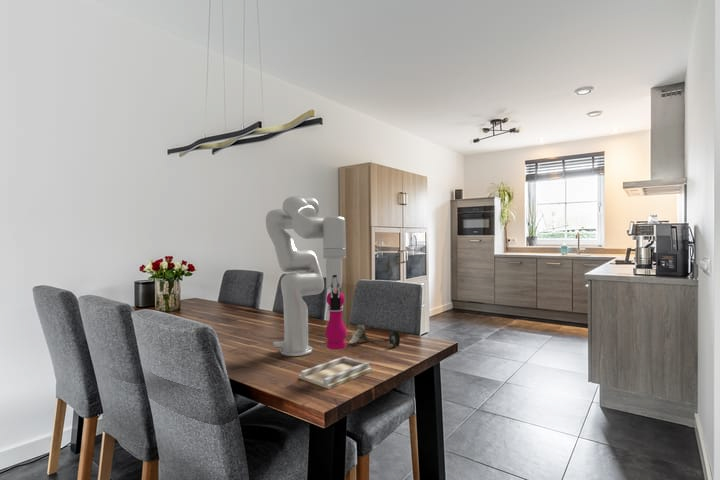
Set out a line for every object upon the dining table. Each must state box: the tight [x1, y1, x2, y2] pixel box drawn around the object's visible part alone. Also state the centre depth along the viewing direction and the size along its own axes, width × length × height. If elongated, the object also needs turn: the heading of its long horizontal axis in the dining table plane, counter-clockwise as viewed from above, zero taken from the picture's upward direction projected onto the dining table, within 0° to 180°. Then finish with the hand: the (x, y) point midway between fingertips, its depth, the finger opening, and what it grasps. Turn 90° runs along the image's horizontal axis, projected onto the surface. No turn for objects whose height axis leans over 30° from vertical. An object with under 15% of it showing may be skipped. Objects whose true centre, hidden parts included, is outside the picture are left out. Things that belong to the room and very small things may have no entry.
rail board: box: [298, 356, 373, 390], centre depth 127 cm, size 20×14×2 cm
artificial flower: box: [349, 324, 401, 349], centre depth 163 cm, size 9×22×10 cm, turn 56°
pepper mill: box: [324, 291, 348, 350], centre depth 127 cm, size 7×7×20 cm
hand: (335, 307), depth 127 cm, fingers closed on pepper mill, 5 cm apart
